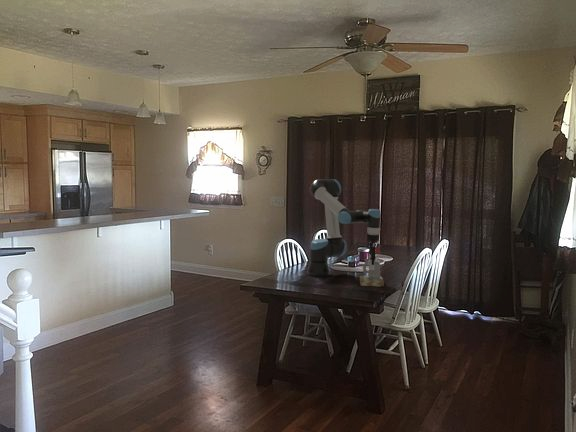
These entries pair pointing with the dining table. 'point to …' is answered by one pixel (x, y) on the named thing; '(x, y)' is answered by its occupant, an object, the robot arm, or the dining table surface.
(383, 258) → the dining table surface
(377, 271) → the mug
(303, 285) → the dining table surface
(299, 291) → the dining table surface
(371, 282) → the stand
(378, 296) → the dining table surface
